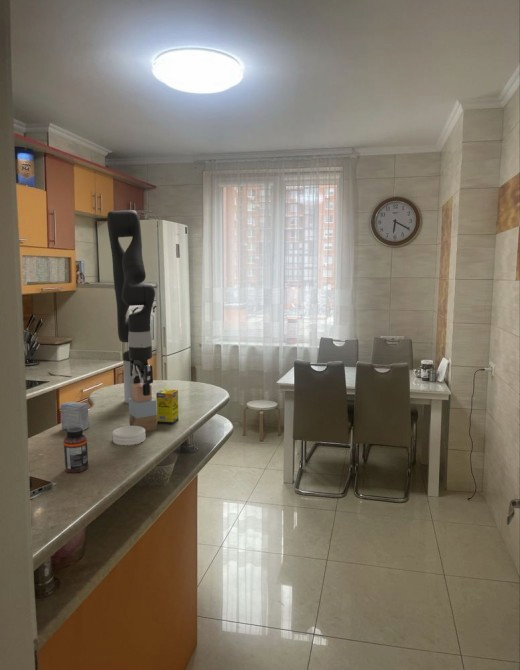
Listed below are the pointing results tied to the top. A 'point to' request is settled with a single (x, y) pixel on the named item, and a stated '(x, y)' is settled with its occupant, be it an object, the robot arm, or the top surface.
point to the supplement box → (167, 406)
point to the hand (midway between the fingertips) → (141, 392)
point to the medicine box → (74, 415)
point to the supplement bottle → (75, 450)
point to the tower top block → (142, 408)
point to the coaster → (129, 435)
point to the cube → (140, 393)
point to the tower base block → (144, 422)
